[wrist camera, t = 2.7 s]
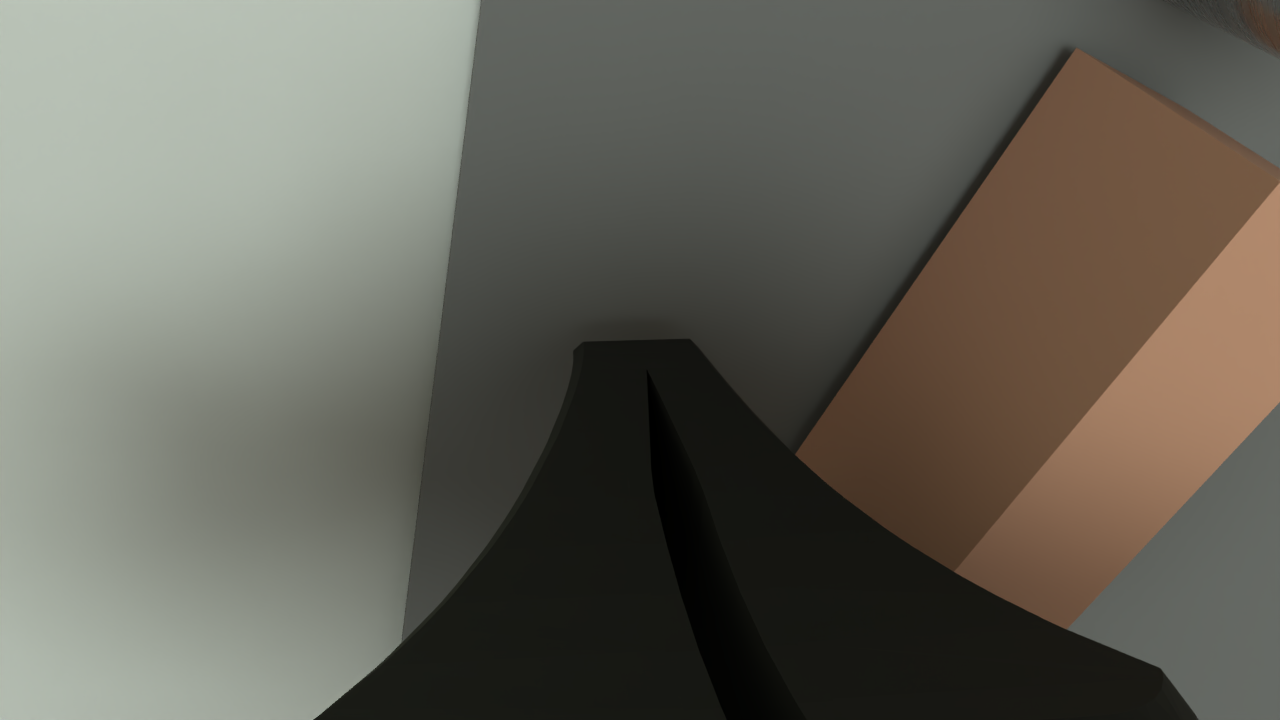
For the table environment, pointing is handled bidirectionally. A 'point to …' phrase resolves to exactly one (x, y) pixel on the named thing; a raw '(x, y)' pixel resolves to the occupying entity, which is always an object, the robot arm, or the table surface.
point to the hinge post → (1240, 19)
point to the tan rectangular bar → (1070, 348)
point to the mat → (799, 249)
